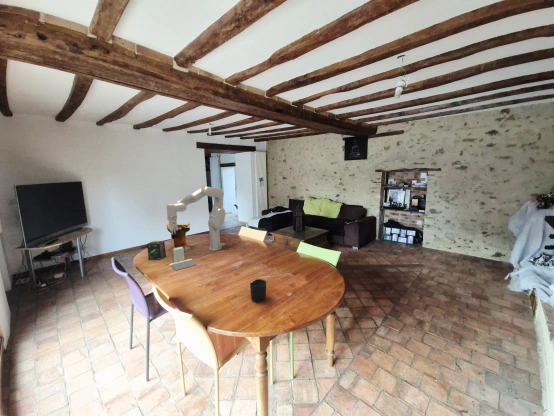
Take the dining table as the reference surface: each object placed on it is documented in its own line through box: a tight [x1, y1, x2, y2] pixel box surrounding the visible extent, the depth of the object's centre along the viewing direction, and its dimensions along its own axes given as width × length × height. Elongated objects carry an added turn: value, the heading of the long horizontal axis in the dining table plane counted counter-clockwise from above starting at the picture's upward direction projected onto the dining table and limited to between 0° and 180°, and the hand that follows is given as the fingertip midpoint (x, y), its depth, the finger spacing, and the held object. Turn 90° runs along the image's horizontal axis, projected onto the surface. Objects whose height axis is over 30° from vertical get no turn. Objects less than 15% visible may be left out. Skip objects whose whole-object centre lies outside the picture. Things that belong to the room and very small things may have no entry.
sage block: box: [172, 247, 186, 263], centre depth 191 cm, size 7×5×12 cm
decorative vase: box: [166, 222, 191, 253], centre depth 222 cm, size 21×23×28 cm
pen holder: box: [249, 278, 267, 303], centre depth 133 cm, size 9×9×10 cm
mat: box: [171, 260, 197, 272], centre depth 184 cm, size 16×12×1 cm
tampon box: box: [146, 240, 167, 261], centre depth 201 cm, size 11×9×15 cm
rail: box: [169, 258, 193, 268], centre depth 189 cm, size 18×2×2 cm, turn 130°
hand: (173, 238), depth 197 cm, fingers closed
